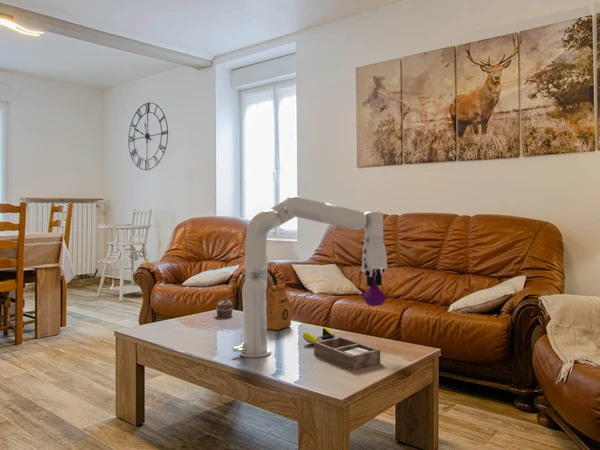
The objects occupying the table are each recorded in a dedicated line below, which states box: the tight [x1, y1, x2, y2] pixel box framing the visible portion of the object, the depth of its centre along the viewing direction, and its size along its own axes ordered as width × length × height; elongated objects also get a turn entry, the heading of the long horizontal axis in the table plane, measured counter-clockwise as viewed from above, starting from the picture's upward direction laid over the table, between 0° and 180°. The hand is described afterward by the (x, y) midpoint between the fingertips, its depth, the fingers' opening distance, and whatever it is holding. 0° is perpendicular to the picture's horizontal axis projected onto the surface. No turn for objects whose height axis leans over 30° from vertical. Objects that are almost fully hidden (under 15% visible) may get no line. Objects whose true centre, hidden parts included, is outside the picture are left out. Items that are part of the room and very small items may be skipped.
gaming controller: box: [302, 327, 337, 346], centre depth 210 cm, size 15×6×10 cm
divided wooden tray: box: [313, 336, 381, 371], centre depth 187 cm, size 14×24×5 cm, turn 33°
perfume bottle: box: [361, 269, 387, 307], centre depth 196 cm, size 8×8×18 cm
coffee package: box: [266, 283, 292, 331], centre depth 238 cm, size 10×12×22 cm
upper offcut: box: [344, 348, 369, 355], centre depth 181 cm, size 8×6×2 cm
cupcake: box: [215, 298, 234, 318], centre depth 269 cm, size 10×10×10 cm
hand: (374, 285), depth 196 cm, fingers closed on perfume bottle, 3 cm apart
